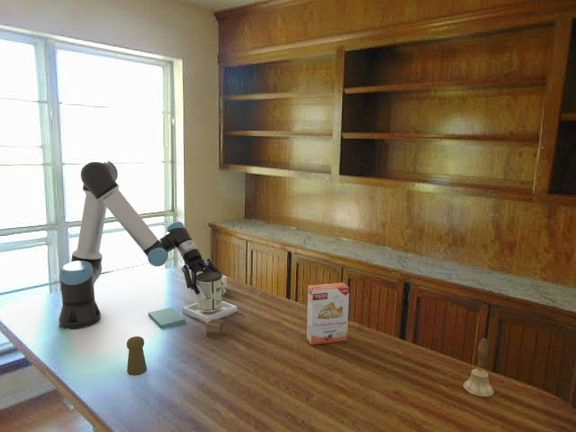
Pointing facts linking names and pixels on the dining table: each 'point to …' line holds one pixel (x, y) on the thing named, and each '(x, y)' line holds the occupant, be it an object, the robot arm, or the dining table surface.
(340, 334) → the cracker box
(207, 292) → the coffee can
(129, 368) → the cork
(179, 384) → the dining table surface
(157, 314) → the teal notebook
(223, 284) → the mug
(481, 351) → the hand bell
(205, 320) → the tray
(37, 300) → the dining table surface
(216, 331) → the walnut block
